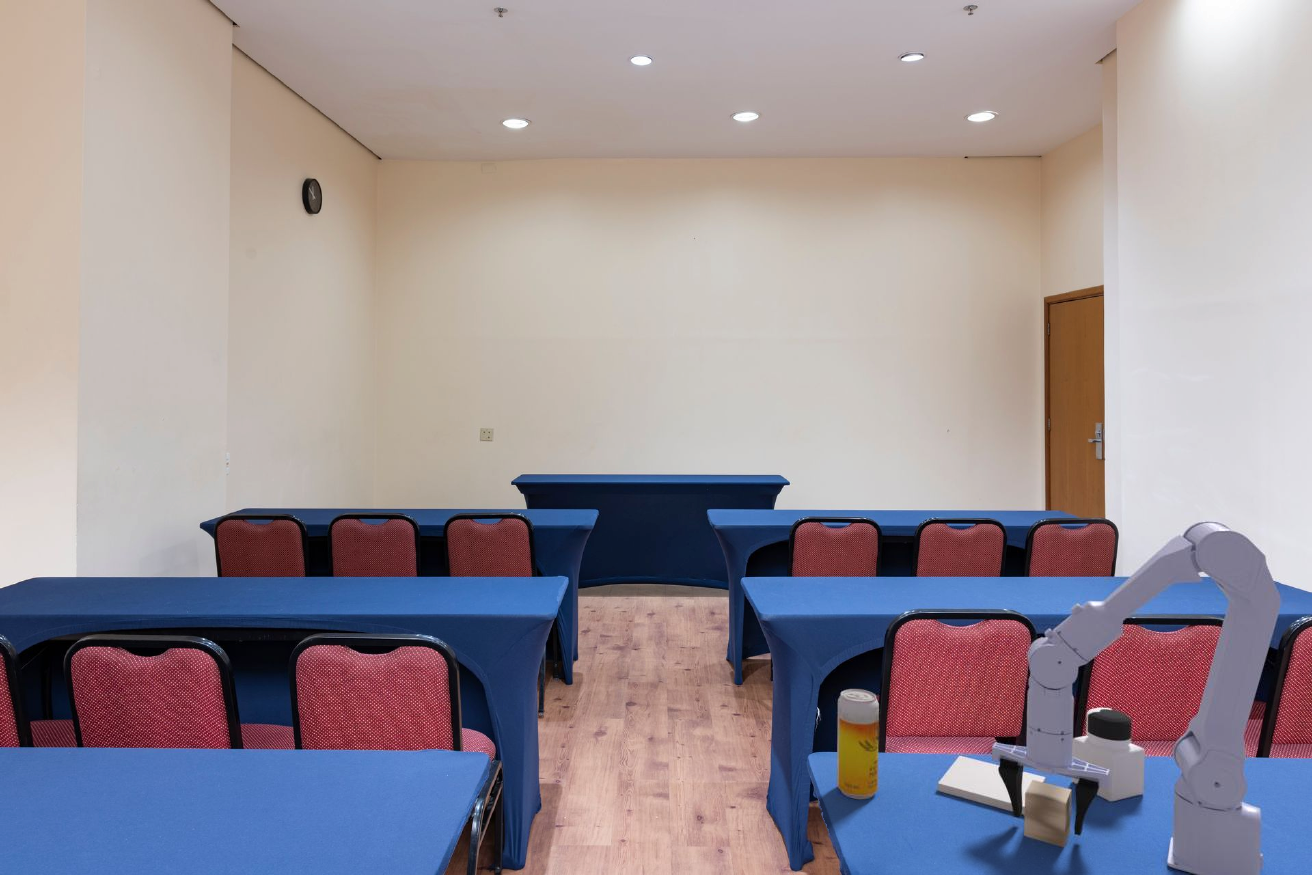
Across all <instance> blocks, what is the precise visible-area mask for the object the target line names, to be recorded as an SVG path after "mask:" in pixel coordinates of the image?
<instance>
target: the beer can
mask: <svg viewBox="0 0 1312 875" xmlns="http://www.w3.org/2000/svg"><path fill="white" fill-rule="evenodd" d="M879 706H880V703H879V702H878V699H877V695H876V694H875V693H873V692H871V691H869V690H865V689H861V688H860V689H859V688H849V689H845V690H843V691H841V692H840V695H839V697H838V699H837V742H836V743H837V744H836V745H837V746H836V747H837V750H836V751H837V752H836V753H837V754H836V759H837V760H836V761H837V762H836V766H837V767H836V770H837V771H836V786H837V787H838V789H839V790H840V792H841V793H842V795H844V796H846V797H848V798H852V799H856V800H867V799H870V798H872V797H873V796H874V795H875V793H876V792H878V788H879V732H880V731H879V729H880V728H879V727H880V726H879V725H880V724H879V723H880V718H879V717H880V716H879V714H880V712H879V711H880V709H879V708H880V707H879Z"/></svg>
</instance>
